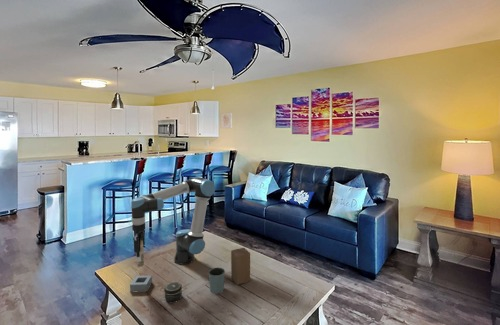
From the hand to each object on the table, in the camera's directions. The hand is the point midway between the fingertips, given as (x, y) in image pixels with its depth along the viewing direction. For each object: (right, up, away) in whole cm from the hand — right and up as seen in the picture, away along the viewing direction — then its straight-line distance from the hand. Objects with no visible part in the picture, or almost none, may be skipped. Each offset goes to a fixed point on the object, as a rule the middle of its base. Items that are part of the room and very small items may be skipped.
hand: (140, 259), depth 168 cm
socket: (0, -19, +2) cm, 19 cm away
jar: (+23, -20, -8) cm, 32 cm away
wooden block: (+63, -18, +11) cm, 66 cm away
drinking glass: (+48, -19, 0) cm, 52 cm away
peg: (0, -4, 0) cm, 4 cm away
